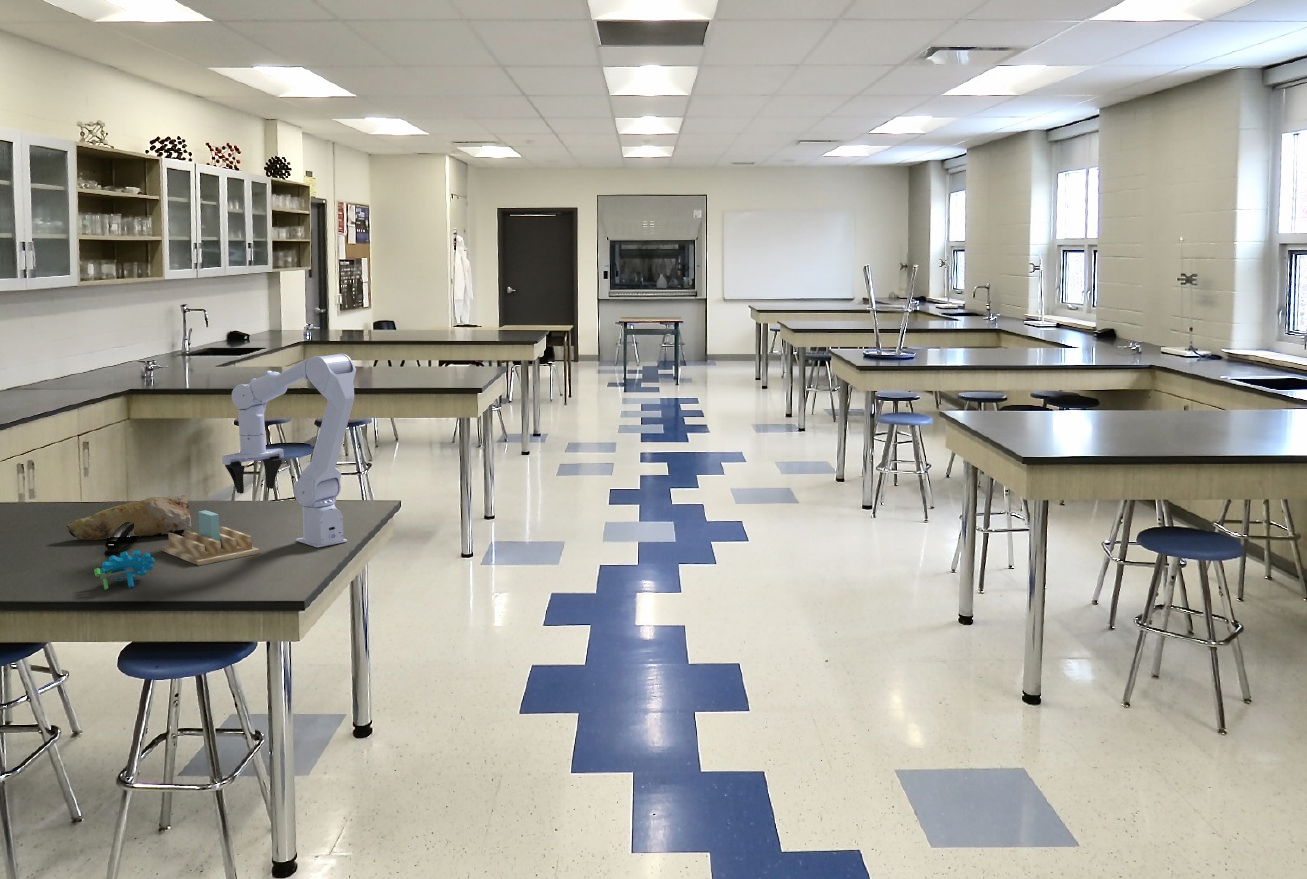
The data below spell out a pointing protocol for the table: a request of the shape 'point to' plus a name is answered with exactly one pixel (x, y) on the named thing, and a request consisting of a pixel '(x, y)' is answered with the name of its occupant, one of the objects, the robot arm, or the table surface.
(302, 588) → the table surface
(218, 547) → the rack
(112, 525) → the mineral
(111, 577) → the toy stegosaurus
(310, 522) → the robot arm
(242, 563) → the table surface
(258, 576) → the table surface
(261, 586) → the table surface
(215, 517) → the teal rectangular block
